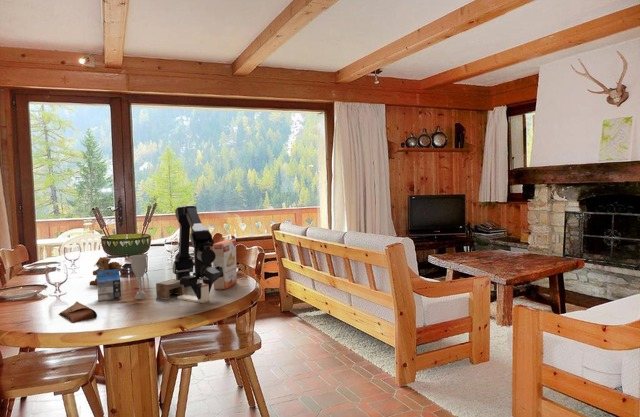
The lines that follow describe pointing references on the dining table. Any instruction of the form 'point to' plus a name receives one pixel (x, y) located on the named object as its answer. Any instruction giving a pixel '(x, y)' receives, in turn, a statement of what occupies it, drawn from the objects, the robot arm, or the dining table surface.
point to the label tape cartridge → (108, 285)
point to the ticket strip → (192, 298)
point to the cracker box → (225, 263)
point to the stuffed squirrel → (105, 267)
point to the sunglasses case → (78, 313)
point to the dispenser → (169, 288)
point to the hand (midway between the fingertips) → (203, 297)
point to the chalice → (139, 272)
